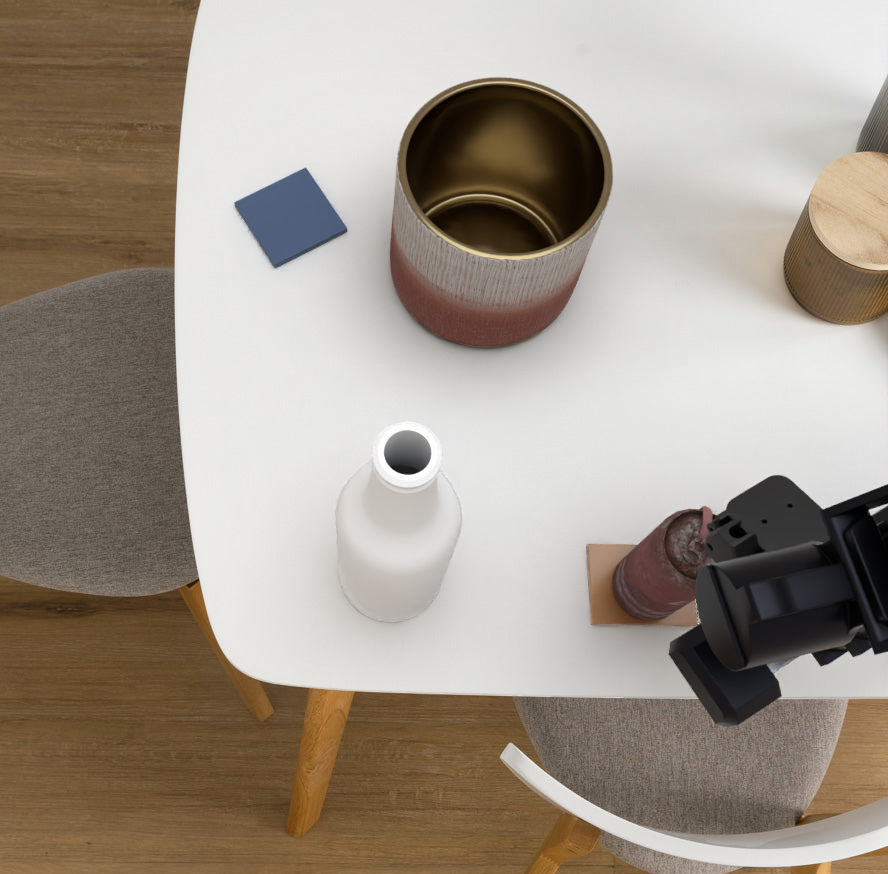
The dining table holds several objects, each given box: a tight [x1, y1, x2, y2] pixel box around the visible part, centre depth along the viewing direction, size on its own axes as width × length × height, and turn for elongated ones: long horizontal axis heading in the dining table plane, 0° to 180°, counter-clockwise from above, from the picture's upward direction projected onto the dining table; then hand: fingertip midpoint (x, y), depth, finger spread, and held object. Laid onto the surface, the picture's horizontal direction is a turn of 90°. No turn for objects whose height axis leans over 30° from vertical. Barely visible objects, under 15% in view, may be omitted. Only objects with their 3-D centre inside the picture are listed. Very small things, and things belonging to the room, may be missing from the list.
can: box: [613, 505, 717, 621], centre depth 76 cm, size 6×6×14 cm
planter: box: [389, 76, 614, 348], centre depth 85 cm, size 18×18×16 cm
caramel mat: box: [586, 543, 699, 627], centre depth 83 cm, size 9×7×1 cm
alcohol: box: [334, 421, 463, 623], centre depth 69 cm, size 9×9×30 cm
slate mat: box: [233, 166, 348, 269], centre depth 93 cm, size 8×8×1 cm
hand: (762, 632), depth 70 cm, fingers open, 9 cm apart
